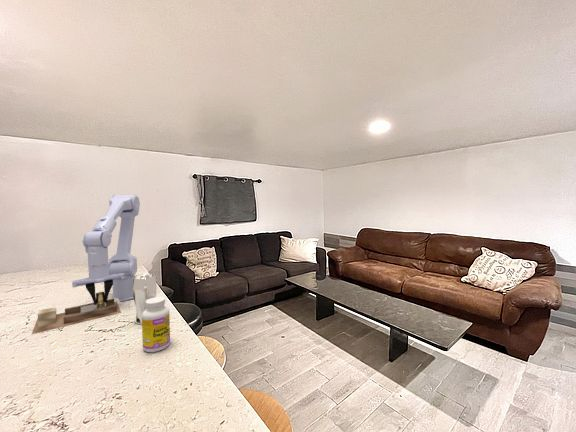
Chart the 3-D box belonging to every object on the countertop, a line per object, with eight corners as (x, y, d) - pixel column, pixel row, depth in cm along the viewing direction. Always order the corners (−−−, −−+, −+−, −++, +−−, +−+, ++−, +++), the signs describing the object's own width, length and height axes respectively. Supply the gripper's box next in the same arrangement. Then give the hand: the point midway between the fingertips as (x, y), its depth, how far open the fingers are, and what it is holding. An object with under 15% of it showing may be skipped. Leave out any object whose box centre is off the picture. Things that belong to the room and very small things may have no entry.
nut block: (56, 318, 83) (56, 307, 83) (55, 323, 80) (55, 310, 80) (39, 322, 81) (39, 310, 81) (38, 327, 78) (37, 314, 78)
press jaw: (105, 306, 93) (104, 289, 93) (106, 311, 88) (106, 294, 87) (80, 311, 88) (79, 294, 88) (81, 317, 83) (79, 299, 83)
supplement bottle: (151, 356, 64) (149, 306, 63) (137, 348, 67) (135, 301, 67) (175, 343, 69) (173, 298, 69) (161, 337, 73) (160, 294, 72)
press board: (116, 305, 98) (116, 296, 98) (121, 316, 87) (120, 307, 87) (37, 322, 84) (37, 312, 84) (31, 339, 73) (31, 327, 73)
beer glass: (162, 317, 86) (160, 274, 86) (145, 326, 80) (143, 280, 79) (147, 314, 89) (145, 272, 88) (128, 323, 82) (126, 278, 82)
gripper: (71, 270, 81) (73, 312, 81) (124, 263, 90) (126, 300, 91) (71, 266, 86) (73, 305, 87) (121, 260, 96) (123, 295, 96)
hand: (100, 302), depth 89 cm, fingers closed on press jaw, 2 cm apart
